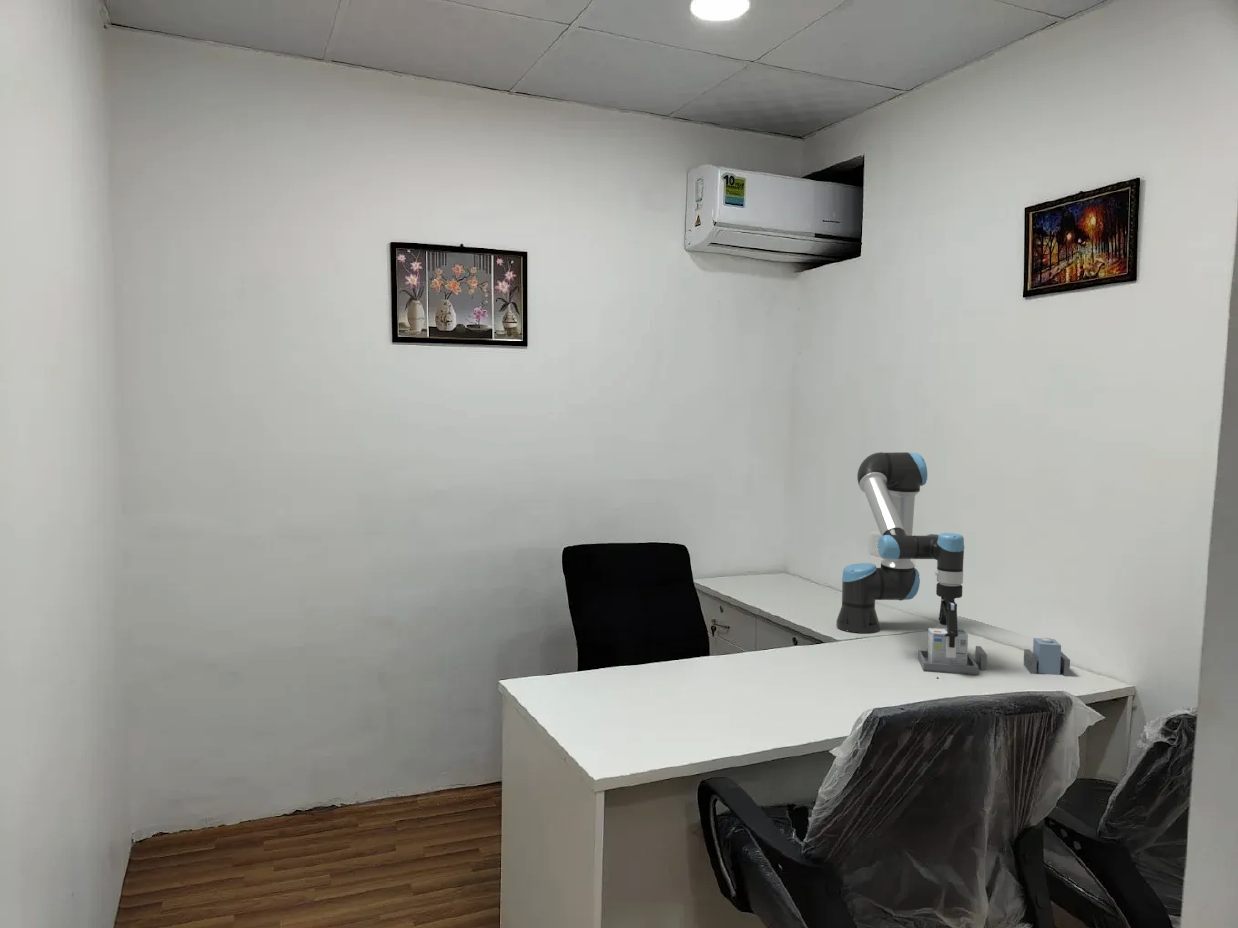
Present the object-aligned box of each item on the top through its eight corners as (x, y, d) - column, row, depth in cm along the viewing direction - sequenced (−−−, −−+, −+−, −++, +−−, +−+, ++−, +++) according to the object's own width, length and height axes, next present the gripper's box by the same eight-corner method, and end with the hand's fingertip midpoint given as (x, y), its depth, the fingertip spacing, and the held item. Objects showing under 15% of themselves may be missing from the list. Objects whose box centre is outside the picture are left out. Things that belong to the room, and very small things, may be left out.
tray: (917, 657, 270) (917, 649, 270) (969, 661, 267) (969, 653, 267) (923, 671, 256) (923, 663, 256) (978, 675, 253) (978, 666, 252)
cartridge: (1032, 666, 262) (1033, 635, 261) (1053, 667, 261) (1054, 636, 260) (1038, 672, 255) (1039, 641, 255) (1059, 674, 254) (1061, 642, 253)
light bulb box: (961, 662, 264) (963, 628, 263) (967, 668, 257) (969, 634, 256) (926, 660, 265) (927, 627, 264) (931, 667, 259) (932, 632, 258)
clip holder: (975, 661, 267) (975, 645, 266) (1060, 667, 261) (1061, 651, 261) (980, 669, 258) (981, 653, 258) (1069, 676, 252) (1070, 659, 252)
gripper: (931, 575, 273) (928, 639, 274) (942, 591, 248) (940, 661, 250) (955, 576, 271) (953, 641, 272) (969, 592, 247) (967, 663, 248)
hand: (947, 651), depth 261 cm, fingers open, 13 cm apart
